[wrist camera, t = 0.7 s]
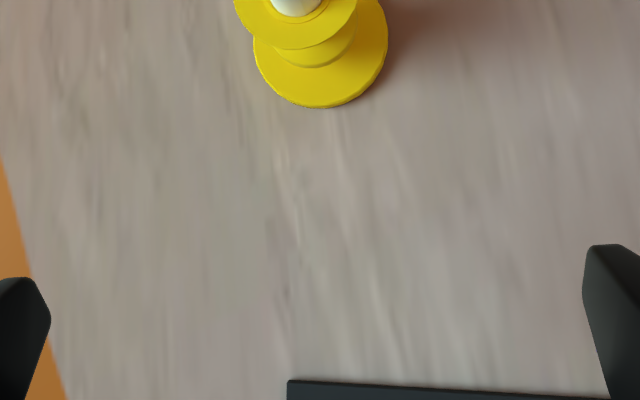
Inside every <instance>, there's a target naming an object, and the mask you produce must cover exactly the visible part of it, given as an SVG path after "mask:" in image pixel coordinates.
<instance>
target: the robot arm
mask: <svg viewBox="0 0 640 400" xmlns="http://www.w3.org/2000/svg"><path fill="white" fill-rule="evenodd" d="M582 299H583V304H584V308H585V311H586V315H587V318H588V322H589V325H590V329H591V332H592V336H593V339H594V343H595V346H596V350H597V353H598V357H599V360H600V364H601V367H602V371H603V374H604V378H605V381H606V385H607V388H608V391H609V394H610V397H611V400H640V256H639V255H637V254H635V253H634V252H632V251H631V250H629V249H627V248H626V247H624V246H622V245H619V244H605V245H593V246H591V247H590V248H589V250H588V252H587V256H586V263H585V270H584V277H583V284H582ZM50 325H51V314H50V311H49V309H48V307H47V305H46V303H45V301H44V299H43V297H42V295H41V293H40V291H39V289H38V288H37V286H36V284H35V282H34V281H33V280H32V279H30V278H28V277H14V278H6V279H3V280H1V281H0V400H25V397H26V394H27V392H28V389H29V385H30V383H31V380H32V377H33V374H34V372H35V369H36V366H37V363H38V360H39V357H40V354H41V352H42V349H43V346H44V343H45V340H46V337H47V335H48V332H49V329H50Z"/></svg>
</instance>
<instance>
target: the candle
mask: <svg viewBox="0 0 640 400" xmlns="http://www.w3.org/2000/svg"><path fill="white" fill-rule="evenodd" d="M233 1H234V5H235V10H236V12H237V14H238V16H239V18H240V19H241V21H242V23H243V25H244V26H245V27H246V28H247V29H248V30H249V31H250V33H251V34H252V35H253V36H254V41H253V50H254V54H255V59H256V63H257V66H258V68H259V70H260V72H261V74H262V76H263V78H264V80H265V81H266V82H267V83H268V84H269V85H270V86H271V87H272V88H273V89H274V90H275V92H276V93H277V94H278V95H280V96H281V97H283V98H285V99H286V100H288V101H290V102H291V103H293V104H296V105H300V106H303V107H307V108H331V107H334V106H338V105H342V104H345V103H347V102H349V101H350V100H352V99H354V98H356V97H358V96H359V95H361V94H362V93H363V92H364V91H365V90H366V89H367V88H368V87H369V86H370V85H371V84H372V83H373V82H374V80H375V79H376V77H377V75H378V74H379V72H380V71H381V69H382V67H383V64H384V61H385V58H386V54H387V51H388V27H387V23H386V19H385V15H384V11H383V10H382V8H381V6H380V4H379V3H378V1H377V0H233Z"/></svg>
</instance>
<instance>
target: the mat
mask: <svg viewBox="0 0 640 400" xmlns="http://www.w3.org/2000/svg"><path fill="white" fill-rule="evenodd" d="M287 400H611V399H598V398H582V397H565V396H549V395H532V394H515V393H499V392H482V391H466V390H449V389H433V388H416V387H399V386H383V385H366V384H350V383H333V382H316V381H300V380H289V381H288V382H287Z"/></svg>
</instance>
